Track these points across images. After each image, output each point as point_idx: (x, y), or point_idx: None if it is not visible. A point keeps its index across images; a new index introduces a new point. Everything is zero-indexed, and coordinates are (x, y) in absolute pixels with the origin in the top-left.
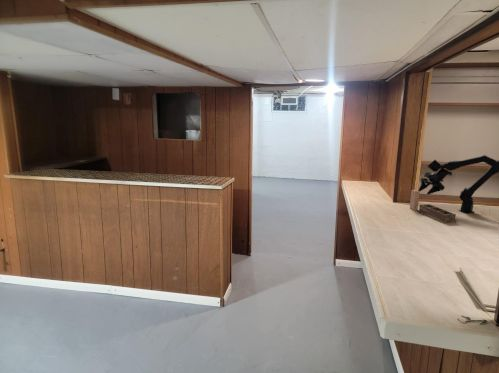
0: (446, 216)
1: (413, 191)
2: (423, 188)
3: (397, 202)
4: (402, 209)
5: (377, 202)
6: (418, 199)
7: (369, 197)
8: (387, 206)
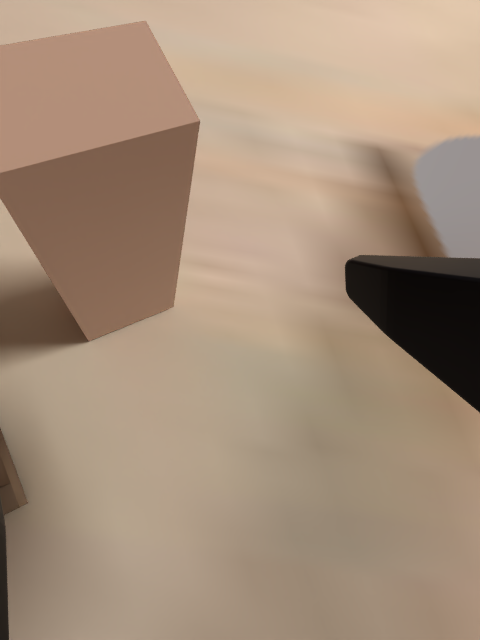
0: None
1: (44, 57)
2: (476, 384)
3: (395, 189)
4: None
5: (317, 18)
6: (52, 281)
7: (477, 3)
8: (180, 61)
